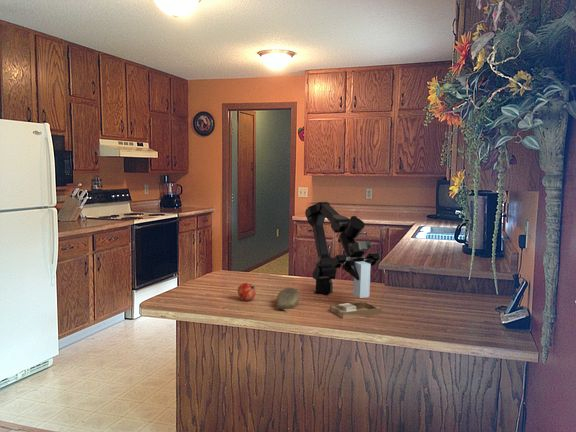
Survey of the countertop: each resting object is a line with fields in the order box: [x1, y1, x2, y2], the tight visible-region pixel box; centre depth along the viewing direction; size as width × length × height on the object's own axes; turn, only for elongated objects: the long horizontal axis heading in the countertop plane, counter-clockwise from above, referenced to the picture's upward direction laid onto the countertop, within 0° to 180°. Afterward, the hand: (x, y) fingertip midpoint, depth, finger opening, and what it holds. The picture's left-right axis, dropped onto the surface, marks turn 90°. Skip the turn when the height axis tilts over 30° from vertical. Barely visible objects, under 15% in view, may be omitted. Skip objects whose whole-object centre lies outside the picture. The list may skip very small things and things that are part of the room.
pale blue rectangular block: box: [352, 261, 372, 299], centre depth 179 cm, size 5×4×12 cm
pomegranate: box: [236, 282, 257, 302], centre depth 195 cm, size 7×7×10 cm
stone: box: [276, 287, 300, 311], centre depth 187 cm, size 9×14×10 cm, turn 173°
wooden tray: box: [329, 301, 383, 320], centre depth 177 cm, size 10×16×3 cm, turn 112°
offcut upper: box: [338, 302, 356, 312], centre depth 176 cm, size 5×4×2 cm
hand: (363, 279), depth 178 cm, fingers closed on pale blue rectangular block, 4 cm apart
